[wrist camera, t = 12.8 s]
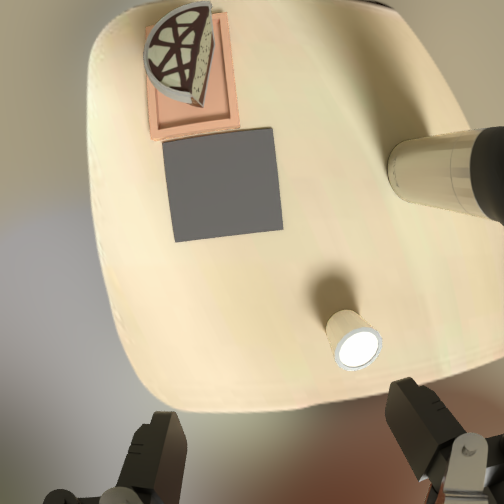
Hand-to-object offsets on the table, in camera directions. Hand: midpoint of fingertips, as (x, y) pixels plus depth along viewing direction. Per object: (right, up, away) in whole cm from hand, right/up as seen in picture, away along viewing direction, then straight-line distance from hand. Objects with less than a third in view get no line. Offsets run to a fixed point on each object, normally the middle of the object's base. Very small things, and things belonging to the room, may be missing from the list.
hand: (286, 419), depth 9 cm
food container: (-10, +29, +23) cm, 38 cm away
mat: (-5, +14, +27) cm, 31 cm away
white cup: (+12, -5, +33) cm, 35 cm away
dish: (-9, +29, +24) cm, 39 cm away
